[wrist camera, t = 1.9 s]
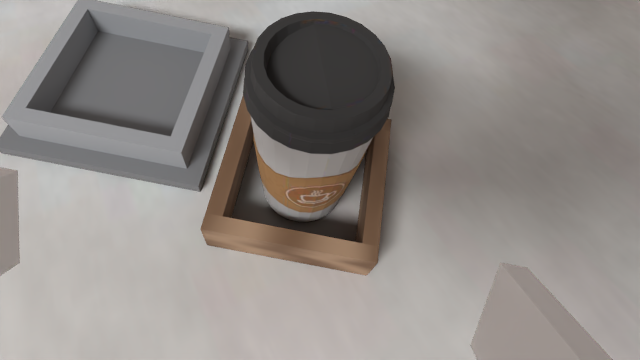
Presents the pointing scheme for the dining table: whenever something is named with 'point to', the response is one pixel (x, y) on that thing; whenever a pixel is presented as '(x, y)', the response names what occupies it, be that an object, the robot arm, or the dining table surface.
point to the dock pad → (127, 95)
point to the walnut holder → (286, 241)
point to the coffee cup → (314, 108)
